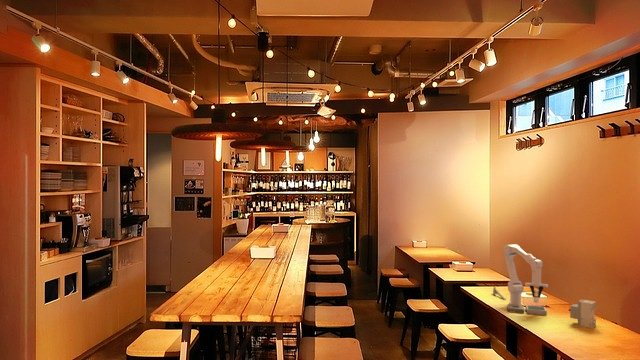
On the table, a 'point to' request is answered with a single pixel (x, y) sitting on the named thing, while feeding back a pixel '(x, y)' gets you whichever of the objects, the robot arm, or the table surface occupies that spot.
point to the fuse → (536, 296)
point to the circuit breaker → (584, 313)
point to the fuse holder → (515, 308)
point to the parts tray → (536, 310)
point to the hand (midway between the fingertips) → (536, 297)
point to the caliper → (497, 293)
